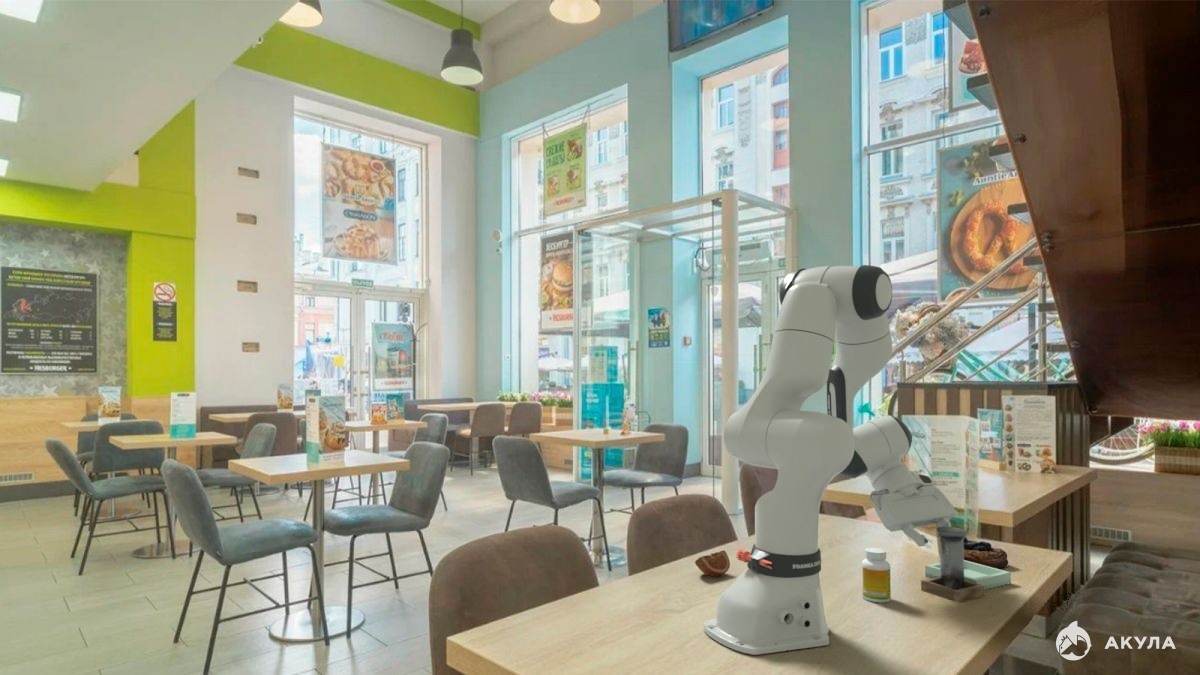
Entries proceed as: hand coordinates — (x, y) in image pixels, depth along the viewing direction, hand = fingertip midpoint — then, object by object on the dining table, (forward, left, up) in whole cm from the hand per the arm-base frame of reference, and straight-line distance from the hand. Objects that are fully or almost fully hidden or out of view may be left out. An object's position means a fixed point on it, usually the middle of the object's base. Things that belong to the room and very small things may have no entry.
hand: (938, 541), depth 145 cm
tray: (+11, +1, -10) cm, 15 cm away
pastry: (+25, +8, -10) cm, 28 cm away
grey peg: (0, -3, -10) cm, 10 cm away
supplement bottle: (-17, +2, -10) cm, 20 cm away
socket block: (0, -3, -10) cm, 10 cm away
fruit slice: (-37, +30, -10) cm, 49 cm away
